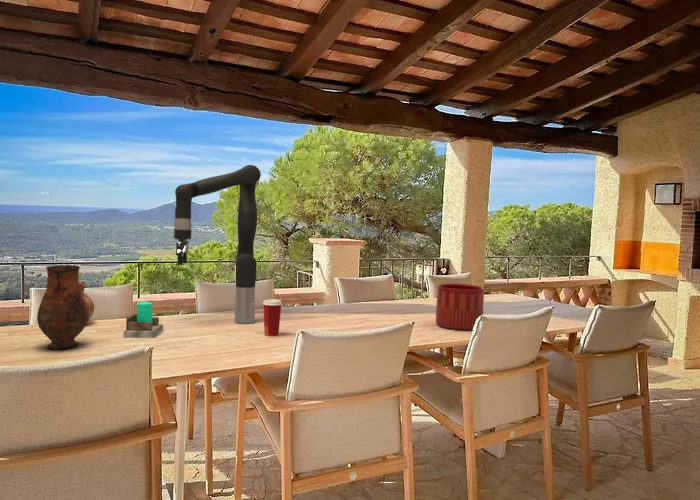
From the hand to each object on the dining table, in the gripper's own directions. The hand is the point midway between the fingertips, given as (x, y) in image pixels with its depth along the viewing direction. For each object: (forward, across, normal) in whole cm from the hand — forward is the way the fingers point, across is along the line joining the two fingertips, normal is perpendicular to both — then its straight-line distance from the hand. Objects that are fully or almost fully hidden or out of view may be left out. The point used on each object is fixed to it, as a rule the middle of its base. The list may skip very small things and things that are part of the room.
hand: (182, 264), depth 229 cm
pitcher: (+28, -39, +34) cm, 59 cm away
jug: (+28, -3, +47) cm, 55 cm away
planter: (+28, +5, -134) cm, 137 cm away
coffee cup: (+28, -18, -42) cm, 54 cm away
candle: (+26, -19, +11) cm, 34 cm away
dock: (+28, -19, +11) cm, 36 cm away
